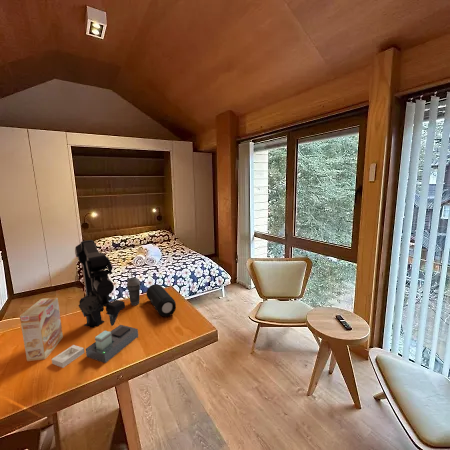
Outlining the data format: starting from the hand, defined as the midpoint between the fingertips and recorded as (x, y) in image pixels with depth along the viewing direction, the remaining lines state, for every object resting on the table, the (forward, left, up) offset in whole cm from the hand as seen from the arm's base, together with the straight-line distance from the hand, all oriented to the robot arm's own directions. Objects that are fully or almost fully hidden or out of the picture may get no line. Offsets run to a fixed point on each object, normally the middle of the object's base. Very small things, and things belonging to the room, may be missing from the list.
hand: (104, 323), depth 101 cm
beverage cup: (-18, +37, -12) cm, 43 cm away
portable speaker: (-1, +38, -13) cm, 40 cm away
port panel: (+1, +3, -12) cm, 13 cm away
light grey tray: (-10, -9, -12) cm, 18 cm away
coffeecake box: (-25, -8, -12) cm, 29 cm away
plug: (+1, -2, -12) cm, 12 cm away
